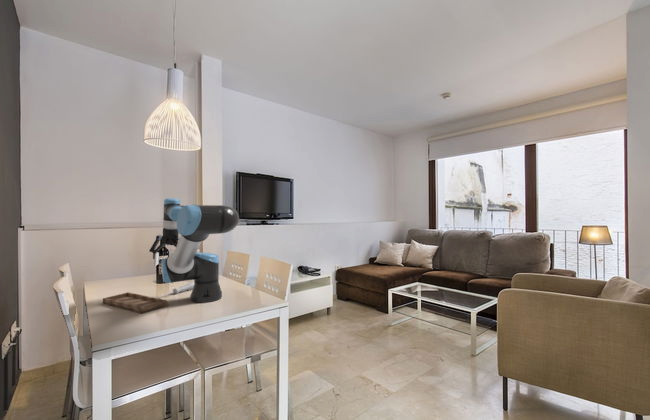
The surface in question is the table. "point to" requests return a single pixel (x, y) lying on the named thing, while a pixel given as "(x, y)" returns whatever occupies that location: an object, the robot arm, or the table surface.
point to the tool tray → (135, 302)
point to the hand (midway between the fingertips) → (169, 266)
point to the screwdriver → (181, 289)
